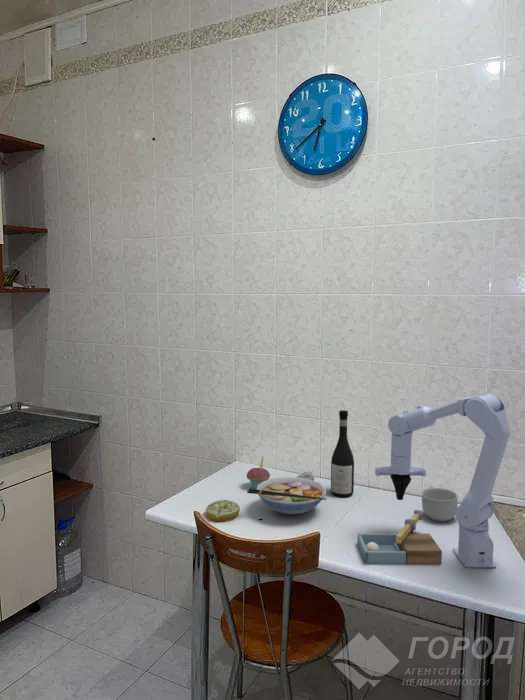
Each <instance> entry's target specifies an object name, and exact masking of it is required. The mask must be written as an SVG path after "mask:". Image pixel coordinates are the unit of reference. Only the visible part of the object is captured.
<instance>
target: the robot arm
mask: <svg viewBox="0 0 525 700" xmlns="http://www.w3.org/2000/svg"><path fill="white" fill-rule="evenodd" d="M506 412H507V406H506V404H505V402H504V401H503V400H502V399H501V398H500V396H498V395H497V394H495V393H493V392H489V393H484V394H482V395H481V394H479V395H472V396H467V397H462V398H458V399H456V400H452V401H450V402H447V403H444V404H441V405H439V406H438V405H437V406H436V407H430V406H428V405H423V404H421V405H418V406H417V405H416V408H415V409H411V410H407V409H406V410H404V411H403V413H401V414H394V415H393V416H391V417H390V418H389V420H388V423H387V425H388V426H387V427H388V430H389V431H390V433H391V444H390V445H391V446H390V447H391V449H390V466H381V467H375V469H374V473H375V475H376V477H381V476H389V477H390V480H391V481H392V483H393V487H394V491H395V496H396V498H395V499H397V501H403V500H404V496H405V494H406V491H407V488H408V486H409V485H410V483H411V482H412V477H411V476H415V477H416V476H417V477H418V476H421V477H426V476H427V470H426V469H425V467H415V466H412V465H411V464H412V437H413V433H414V432H415V431H416V432H417V431H418V430H421V429H425V428H428V427H431V426H434V425H435V424H436V422H437V420H439V419H441V418H445V417H446V418H447V417H448V416H452V415H456V414H458V415H460V416H462V417H467V418H468V419H469V420H470V421H471V422H472V423H473V424H474V425H476V427H478V428H479V429H481V431H482V432H483V434H484V435H485V437H484V441H483V443H482V447H481V451H480V454H479V455H478V456H479V457H478V461H477V464H476V467H475V469H474V473H473V478H472V480H471V482H470V486H469V489H468V491H467V493H466V494H465V495H464V497H463V499H462V502H461V504H460V505H459V506H457V509H456V512H455V516H454V517H455V519H456V521H457V522H458V524H459V525H458V542H457V543H458V544H457V545H458V547H453V548H452V551H453V553H454V554H455V555H456V557H457V558H458V559H459V561H460V562H461V563H462V565H463V566H464V567H465V568H497V565H496V564H495V562H494V542H493V540H492V538H491V537H490V534H489V531H490V530H489V529H490V528H489V527H490V525H489V519H491V517H492V516H493V514H494V507H493V501H494V497H493V496H492V492H493V489H494V486H495V483H496V481H497V480H496V479H497V477H498V473H499V469H500V467H501V463H502V460H503V457H504V454H505V451H506V447H507V444H508V441H509V437H510V435H511V431H510V426H509V422H508V418H507V414H506Z"/></svg>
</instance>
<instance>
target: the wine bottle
mask: <svg viewBox="0 0 525 700" xmlns="http://www.w3.org/2000/svg"><path fill="white" fill-rule="evenodd" d="M338 413H339V414H338V416H339V433H338V435H339V436H338V440H337V444H336V446H335V447H334V450H333V453H332V456H331V461H330V492H331V494H332V495H334V496H336V497H341V498H347V497H350V496H352V495H353V494H354V491H355V490H354V486H355V485H354V483H355V478H354V477H355V460H354V455H353V452H352V449H351V445H350V443H349V440H348V439H349V438H348V416H349V411H348V410H339V412H338Z"/></svg>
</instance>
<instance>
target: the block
mask: <svg viewBox="0 0 525 700" xmlns="http://www.w3.org/2000/svg"><path fill="white" fill-rule="evenodd" d="M398 533H399V532H398ZM398 533H397V534H396V536H397V535H398ZM397 545H398V547H399V549H400V550H401V551H405V552H406V564H407V565H408V564H409V565H411V564H413V565H423V564H424V565H442V562H443V561H442V558H443V556H442V555H443V550H442V549H441V548H440V547H439V545H438V543H437V542H436V541H435V539H434V538H433V537H432V535H431V534H430V533H415V530H414V531H410V532H409V534H408V535H407V536H406V537H405V539H404V540H403V541H402V542H401V544H400V543H397Z"/></svg>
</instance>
